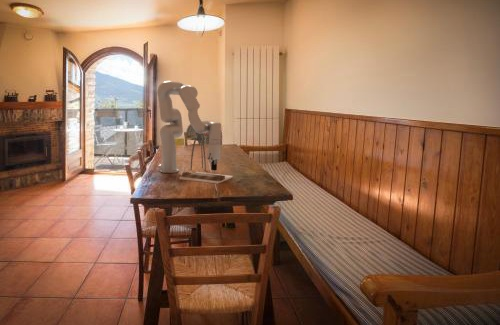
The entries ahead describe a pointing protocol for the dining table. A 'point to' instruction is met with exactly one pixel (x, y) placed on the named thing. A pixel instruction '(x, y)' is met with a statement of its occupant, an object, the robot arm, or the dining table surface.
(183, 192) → the dining table surface
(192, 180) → the board
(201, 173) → the tongs arm
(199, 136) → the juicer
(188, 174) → the tongs base
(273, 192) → the dining table surface
